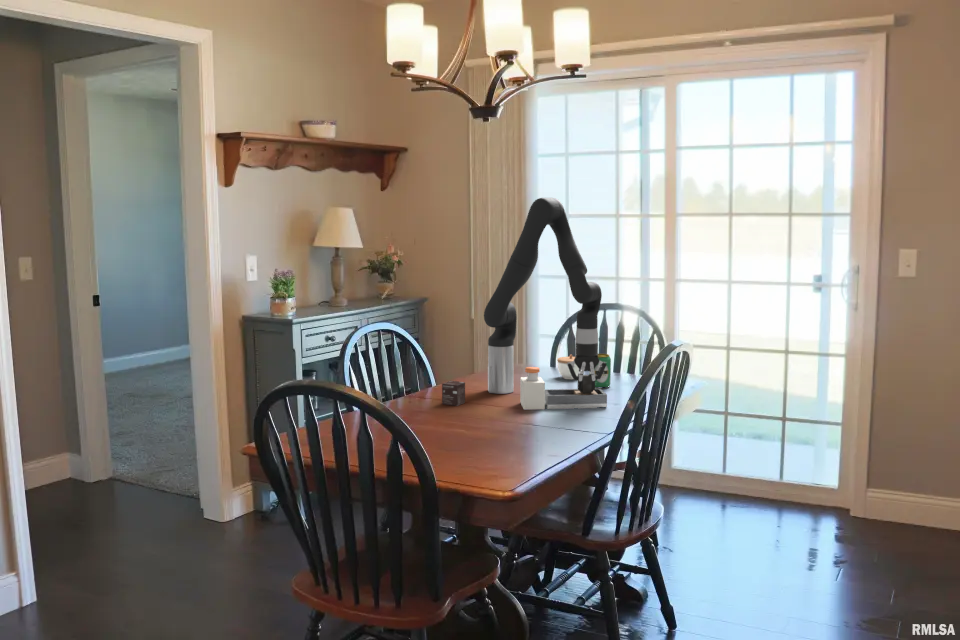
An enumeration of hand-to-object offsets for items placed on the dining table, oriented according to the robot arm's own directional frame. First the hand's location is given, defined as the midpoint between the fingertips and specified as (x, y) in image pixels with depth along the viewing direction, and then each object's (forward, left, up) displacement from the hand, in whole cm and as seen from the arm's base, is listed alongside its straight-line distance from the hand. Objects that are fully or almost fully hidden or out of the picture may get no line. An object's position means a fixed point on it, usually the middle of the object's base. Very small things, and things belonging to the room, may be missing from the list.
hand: (586, 391), depth 280 cm
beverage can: (+11, +30, -5) cm, 32 cm away
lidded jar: (+3, +47, -5) cm, 47 cm away
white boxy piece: (-19, 0, -5) cm, 19 cm away
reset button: (-18, 0, +3) cm, 19 cm away
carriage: (0, 0, -3) cm, 3 cm away
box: (-45, +6, -5) cm, 46 cm away
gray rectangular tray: (-4, 0, -5) cm, 6 cm away
